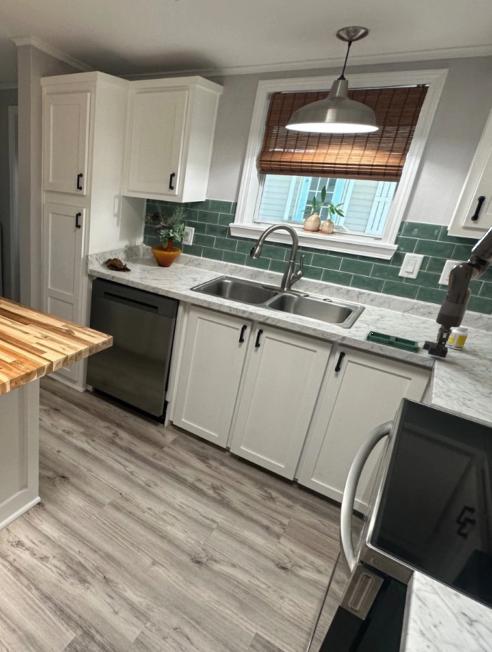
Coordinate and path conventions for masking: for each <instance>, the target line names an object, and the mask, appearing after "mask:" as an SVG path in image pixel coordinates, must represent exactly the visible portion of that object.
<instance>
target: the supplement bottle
mask: <svg viewBox="0 0 492 652" xmlns="http://www.w3.org/2000/svg"><path fill="white" fill-rule="evenodd" d="M468 330H469V327H468V326H465V325H462V324H461V325H460V326H459V327H455V329H452V333H451V335H450V336H449V339H448V341H447V342H446V347H448V348H450V349H453V350H459V351H461V350H463V349H464V347H465V343H466V341H467V338H468V336H469V334H468Z"/></svg>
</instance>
